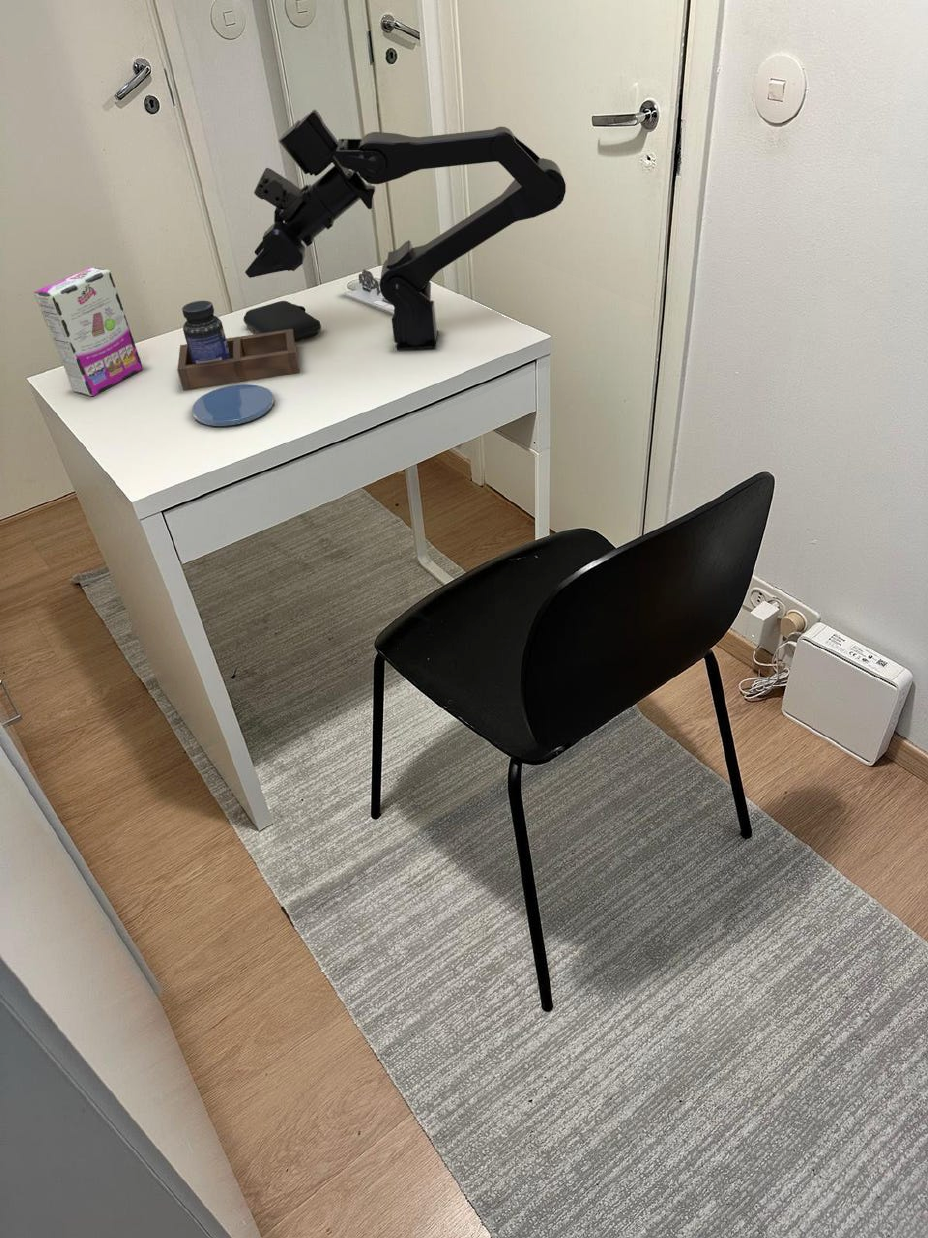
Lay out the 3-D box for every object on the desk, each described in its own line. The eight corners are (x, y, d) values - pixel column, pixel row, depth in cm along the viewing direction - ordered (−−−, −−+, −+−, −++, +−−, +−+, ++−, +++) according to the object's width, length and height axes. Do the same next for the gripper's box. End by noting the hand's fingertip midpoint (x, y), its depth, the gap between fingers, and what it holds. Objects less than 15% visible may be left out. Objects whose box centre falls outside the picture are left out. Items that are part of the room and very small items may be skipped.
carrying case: (332, 334, 154) (295, 310, 164) (329, 317, 152) (292, 294, 162) (275, 352, 150) (241, 326, 160) (272, 334, 148) (237, 309, 158)
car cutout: (344, 296, 168) (341, 271, 165) (373, 285, 171) (369, 261, 168) (394, 315, 159) (390, 289, 156) (422, 303, 162) (420, 278, 159)
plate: (282, 389, 139) (280, 382, 138) (263, 426, 130) (262, 419, 129) (207, 391, 140) (205, 385, 140) (183, 429, 131) (181, 422, 131)
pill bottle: (240, 372, 145) (223, 305, 138) (205, 384, 142) (186, 316, 135) (223, 361, 149) (206, 295, 142) (189, 373, 146) (170, 306, 139)
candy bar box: (124, 364, 151) (90, 265, 140) (144, 369, 149) (112, 269, 138) (70, 392, 144) (31, 290, 133) (91, 397, 142) (53, 294, 131)
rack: (296, 348, 151) (292, 328, 148) (299, 372, 143) (295, 351, 141) (185, 365, 149) (180, 344, 147) (183, 390, 141) (177, 369, 139)
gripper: (296, 137, 137) (224, 203, 143) (280, 170, 123) (201, 241, 129) (344, 199, 143) (274, 260, 149) (334, 237, 129) (257, 302, 135)
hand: (252, 264), depth 140 cm, fingers open, 9 cm apart
